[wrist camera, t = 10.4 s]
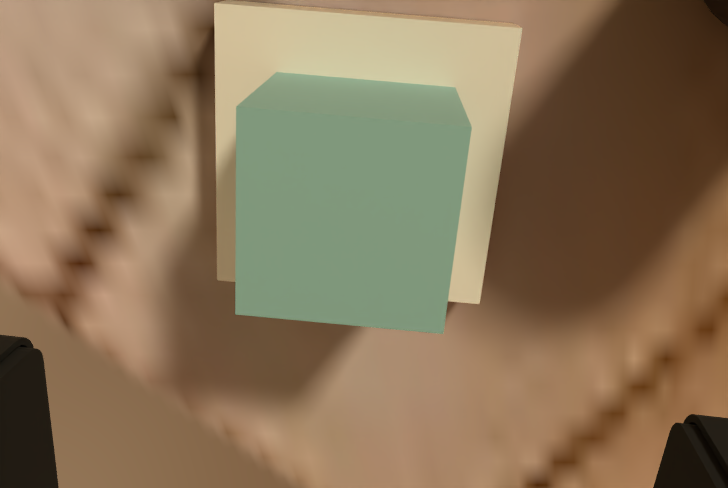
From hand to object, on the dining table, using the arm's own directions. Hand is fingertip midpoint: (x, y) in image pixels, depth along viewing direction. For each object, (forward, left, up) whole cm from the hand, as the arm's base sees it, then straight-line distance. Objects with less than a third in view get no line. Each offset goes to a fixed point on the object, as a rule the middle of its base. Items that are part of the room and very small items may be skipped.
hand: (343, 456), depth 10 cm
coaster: (+1, 0, -17) cm, 17 cm away
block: (+1, 0, -15) cm, 15 cm away
